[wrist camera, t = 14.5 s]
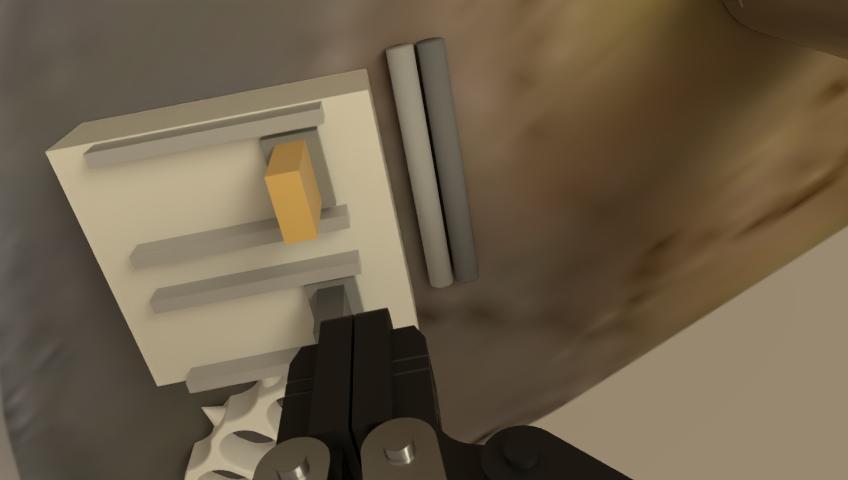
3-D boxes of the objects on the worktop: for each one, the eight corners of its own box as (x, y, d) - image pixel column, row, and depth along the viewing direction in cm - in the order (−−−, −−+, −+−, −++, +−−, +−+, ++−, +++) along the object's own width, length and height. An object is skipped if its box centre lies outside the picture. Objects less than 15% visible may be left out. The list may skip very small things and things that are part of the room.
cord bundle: (442, 36, 37) (445, 41, 36) (476, 268, 44) (480, 280, 43) (384, 47, 37) (386, 52, 36) (429, 277, 44) (431, 289, 43)
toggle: (354, 270, 38) (354, 319, 33) (369, 330, 40) (371, 383, 35) (304, 280, 37) (297, 330, 33) (322, 339, 40) (318, 393, 35)
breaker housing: (366, 68, 37) (368, 97, 32) (413, 292, 45) (422, 349, 39) (81, 123, 37) (32, 162, 31) (176, 339, 45) (150, 402, 39)
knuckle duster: (284, 524, 55) (150, 432, 49) (448, 416, 51) (325, 302, 45) (280, 559, 52) (137, 466, 46) (453, 447, 48) (323, 330, 42)
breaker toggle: (317, 126, 33) (311, 159, 29) (336, 201, 35) (334, 242, 31) (260, 137, 33) (246, 172, 29) (283, 211, 35) (273, 254, 31)
